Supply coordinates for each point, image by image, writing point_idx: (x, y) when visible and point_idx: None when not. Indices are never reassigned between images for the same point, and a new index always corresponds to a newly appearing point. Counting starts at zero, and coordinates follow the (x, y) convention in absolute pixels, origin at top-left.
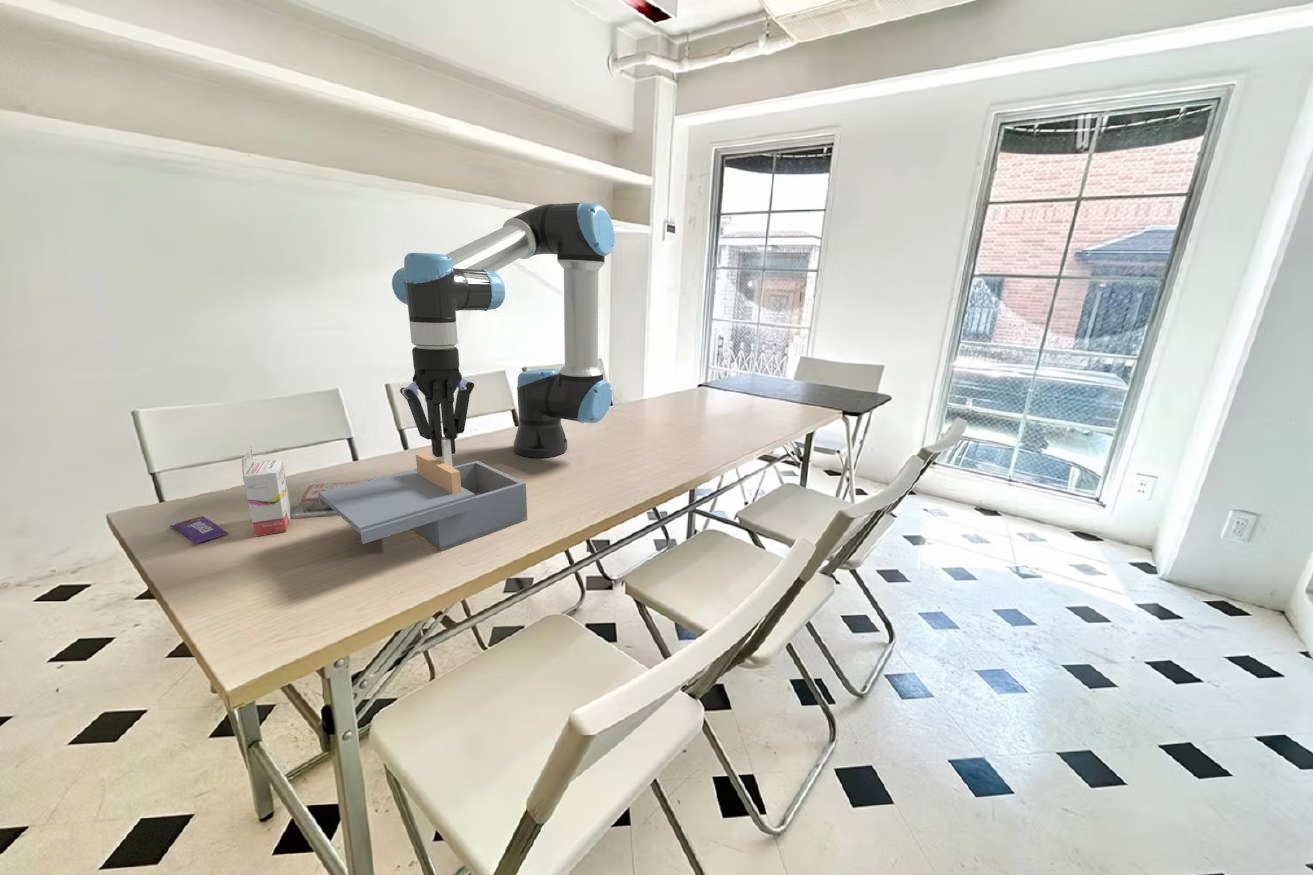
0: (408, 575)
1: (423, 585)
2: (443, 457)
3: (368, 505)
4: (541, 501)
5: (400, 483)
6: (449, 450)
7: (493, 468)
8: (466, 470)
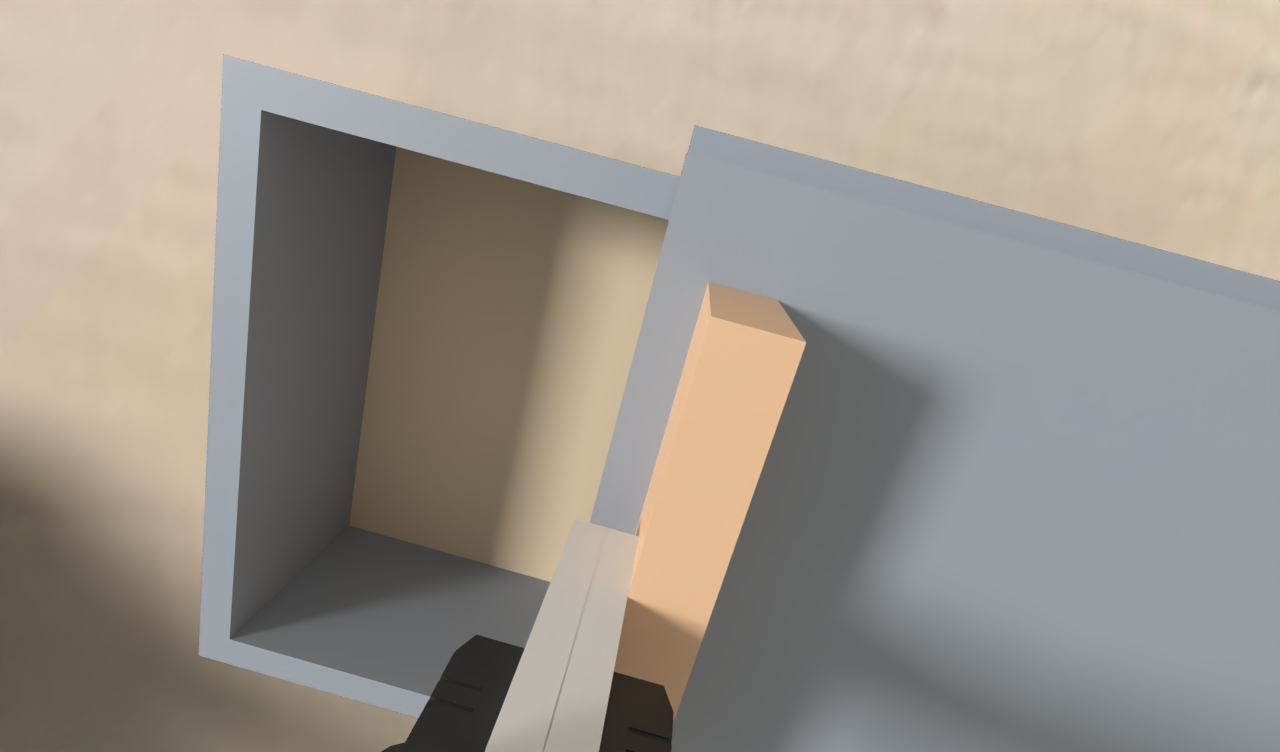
0: (1118, 182)
1: (1173, 37)
2: (617, 646)
3: (1197, 627)
4: (184, 201)
5: (808, 727)
6: (538, 669)
7: (210, 481)
8: (321, 633)
